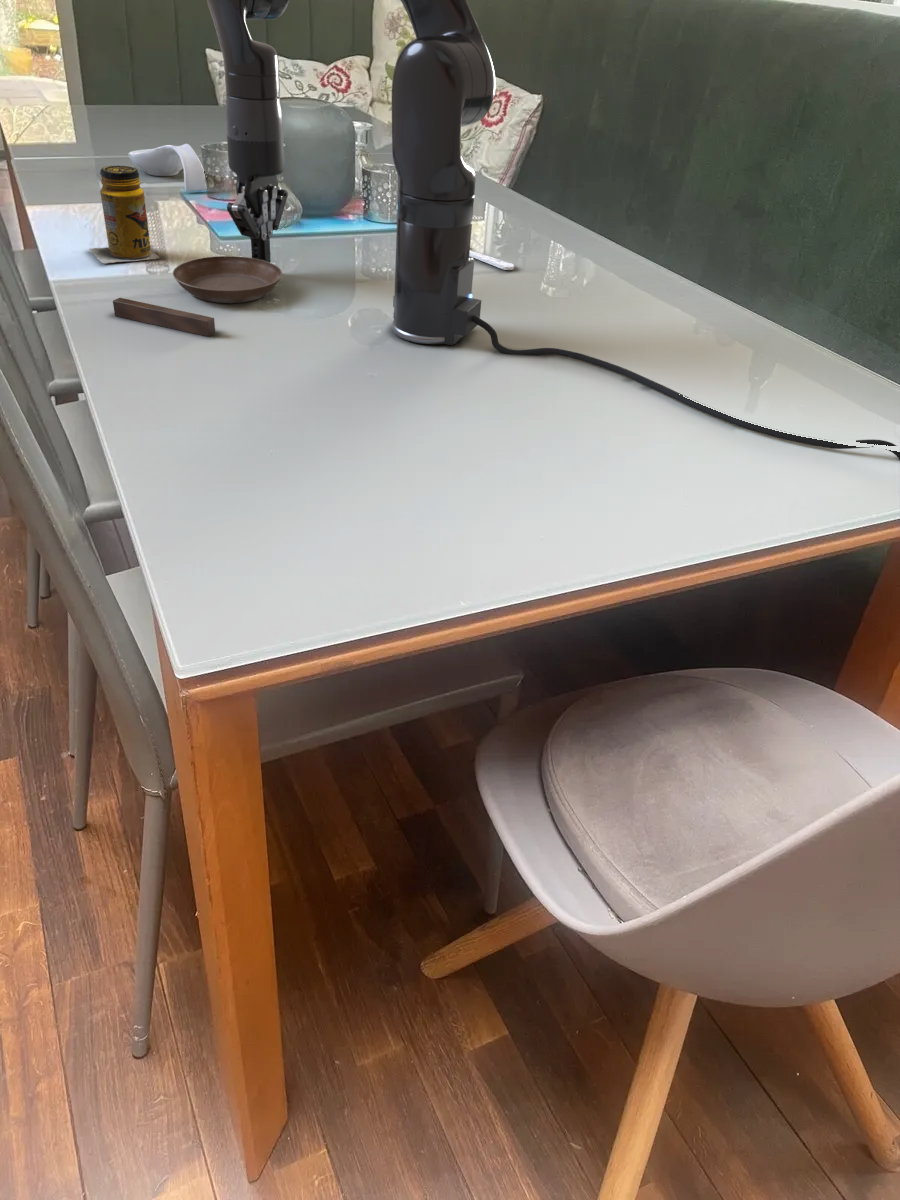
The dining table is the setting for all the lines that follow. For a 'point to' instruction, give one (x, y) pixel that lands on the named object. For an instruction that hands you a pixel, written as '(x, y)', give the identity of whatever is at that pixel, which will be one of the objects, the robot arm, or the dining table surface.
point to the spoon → (492, 260)
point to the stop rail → (164, 317)
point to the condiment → (124, 217)
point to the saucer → (228, 278)
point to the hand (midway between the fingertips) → (261, 264)
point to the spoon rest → (172, 164)
